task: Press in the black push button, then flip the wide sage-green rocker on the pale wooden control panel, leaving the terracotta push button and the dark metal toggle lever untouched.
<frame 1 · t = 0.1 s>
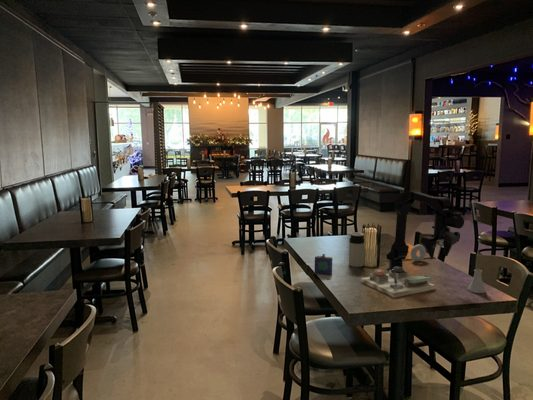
hand: (438, 257, 197), 15 cm above the table, tool pointing down, fingers open, 9 cm apart
donut: (417, 261, 242), on the table
green rocker: (416, 279, 198), point 4 cm above the table, hinge at -12.0°
toggle lever: (393, 273, 194), point 8 cm above the table, hinge at -25.0°
terracotta button: (379, 273, 203), point 5 cm above the table, slide at 0.0 cm
control panel: (397, 285, 201), on the table
flask: (476, 291, 194), on the table
black button: (398, 270, 208), point 5 cm above the table, slide at 0.0 cm
flask 2: (323, 274, 219), on the table
travel mug: (356, 265, 234), on the table
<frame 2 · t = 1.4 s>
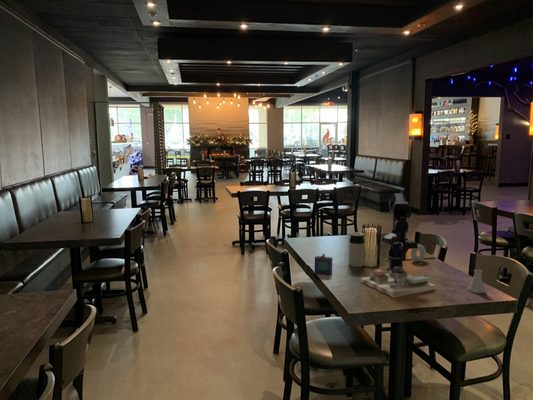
hand: (398, 258, 208), 11 cm above the table, tool pointing down, fingers open, 3 cm apart
nothing on the table moved.
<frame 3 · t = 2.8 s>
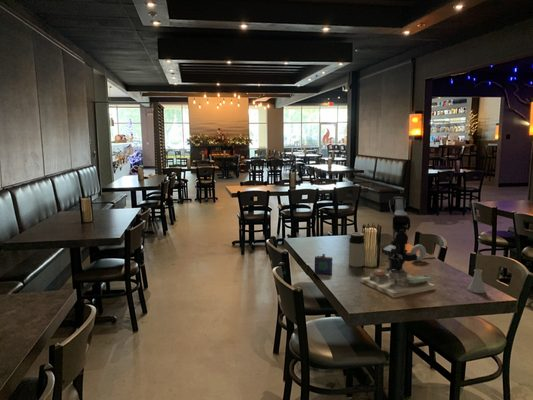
hand: (398, 270, 209), 5 cm above the table, tool pointing down, fingers closed, pressing on black button
black button: (398, 272, 209), point 4 cm above the table, slide at 1.3 cm, touching gripper
everything else where it was.
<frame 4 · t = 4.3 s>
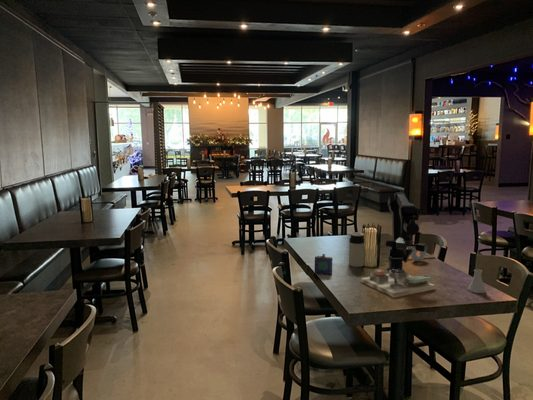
hand: (405, 262, 203), 10 cm above the table, tool pointing down, fingers closed
black button: (398, 272, 209), point 4 cm above the table, slide at 1.4 cm
everything else where it was.
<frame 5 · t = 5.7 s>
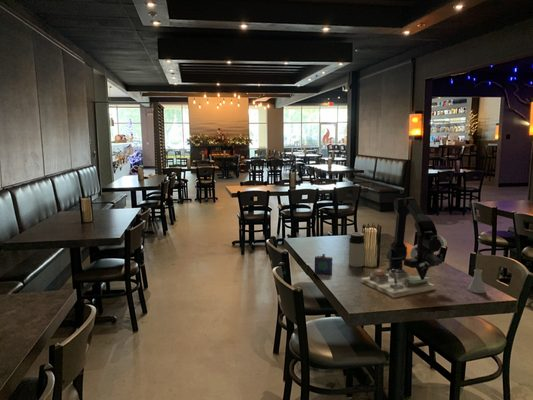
hand: (422, 279, 194), 5 cm above the table, tool pointing down, fingers closed, pressing on green rocker
green rocker: (416, 279, 198), point 4 cm above the table, hinge at -9.8°, touching gripper
everything else where it was.
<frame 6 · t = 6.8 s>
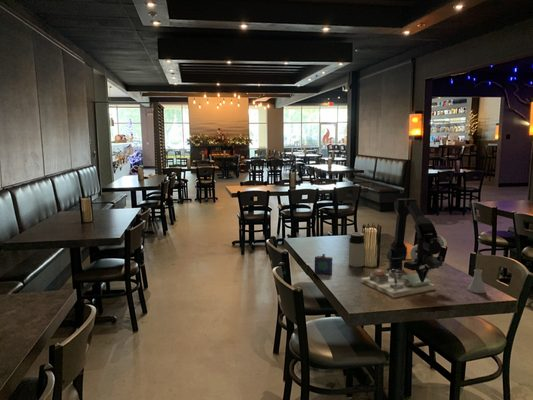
hand: (422, 281, 195), 4 cm above the table, tool pointing down, fingers closed
green rocker: (416, 279, 198), point 4 cm above the table, hinge at 12.8°
everything else where it was.
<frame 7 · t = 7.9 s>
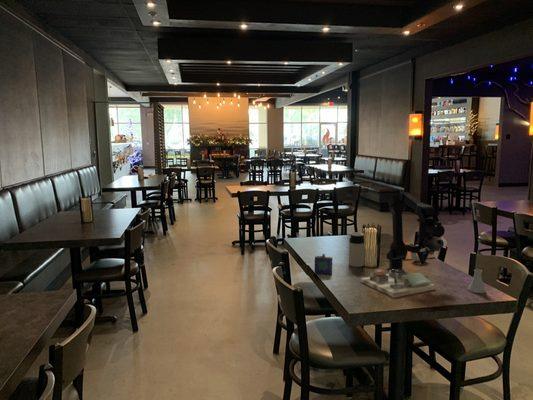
hand: (422, 264, 201), 10 cm above the table, tool pointing down, fingers closed
green rocker: (416, 279, 198), point 4 cm above the table, hinge at 17.0°
everything else where it was.
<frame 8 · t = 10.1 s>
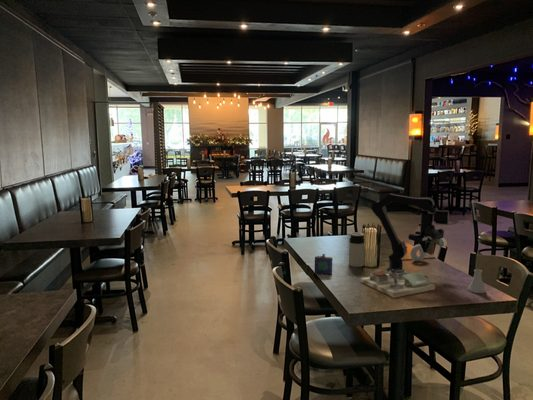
hand: (425, 252, 216), 12 cm above the table, tool pointing down, fingers closed
green rocker: (416, 279, 198), point 4 cm above the table, hinge at 18.1°
everything else where it was.
at the end: black button slide at 1.4 cm; green rocker at +18° (first picture: -12°); terracotta button slide at 0.0 cm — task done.
